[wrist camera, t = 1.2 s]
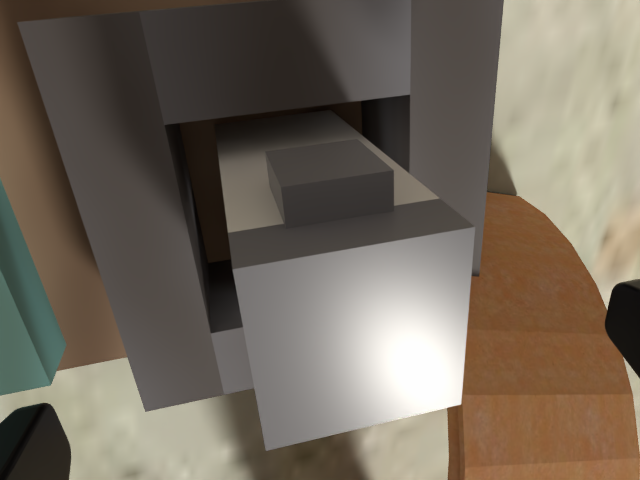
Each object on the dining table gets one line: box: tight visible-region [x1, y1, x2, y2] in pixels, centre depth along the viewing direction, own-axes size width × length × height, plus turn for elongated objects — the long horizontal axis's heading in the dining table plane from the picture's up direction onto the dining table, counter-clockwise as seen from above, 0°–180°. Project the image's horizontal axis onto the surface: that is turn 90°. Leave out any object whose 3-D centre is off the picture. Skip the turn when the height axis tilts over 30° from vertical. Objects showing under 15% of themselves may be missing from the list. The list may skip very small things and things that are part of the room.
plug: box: [214, 110, 475, 451], centre depth 11 cm, size 4×4×9 cm
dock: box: [0, 0, 504, 412], centre depth 13 cm, size 24×12×5 cm, turn 94°
